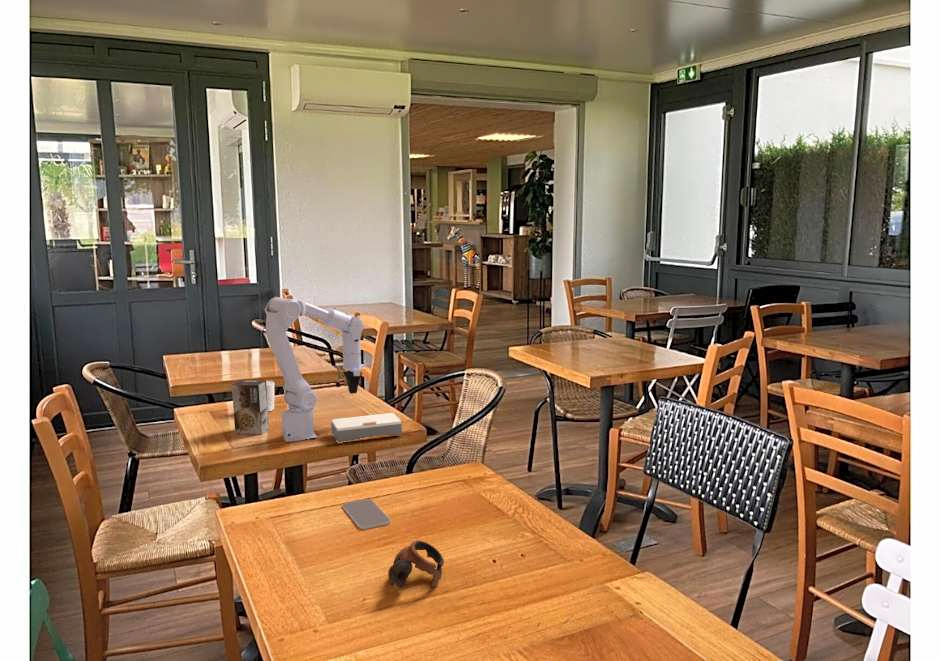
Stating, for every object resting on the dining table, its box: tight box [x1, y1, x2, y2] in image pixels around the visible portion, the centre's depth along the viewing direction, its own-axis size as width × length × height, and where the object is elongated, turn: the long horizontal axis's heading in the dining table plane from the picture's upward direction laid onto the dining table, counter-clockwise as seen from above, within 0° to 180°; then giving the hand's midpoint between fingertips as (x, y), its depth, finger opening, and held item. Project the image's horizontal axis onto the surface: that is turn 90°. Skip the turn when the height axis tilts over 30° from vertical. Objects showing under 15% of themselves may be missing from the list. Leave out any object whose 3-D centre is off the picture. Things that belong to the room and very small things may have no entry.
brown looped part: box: [387, 540, 445, 588], centre depth 132 cm, size 12×10×8 cm
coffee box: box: [231, 379, 270, 435], centre depth 224 cm, size 9×6×16 cm
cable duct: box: [330, 421, 403, 442], centre depth 221 cm, size 20×10×4 cm, turn 112°
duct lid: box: [330, 412, 403, 431], centre depth 220 cm, size 20×10×1 cm, turn 112°
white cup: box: [266, 380, 275, 412], centre depth 248 cm, size 8×8×10 cm
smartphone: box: [341, 498, 392, 531], centre depth 163 cm, size 7×1×15 cm
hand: (353, 393), depth 232 cm, fingers closed
